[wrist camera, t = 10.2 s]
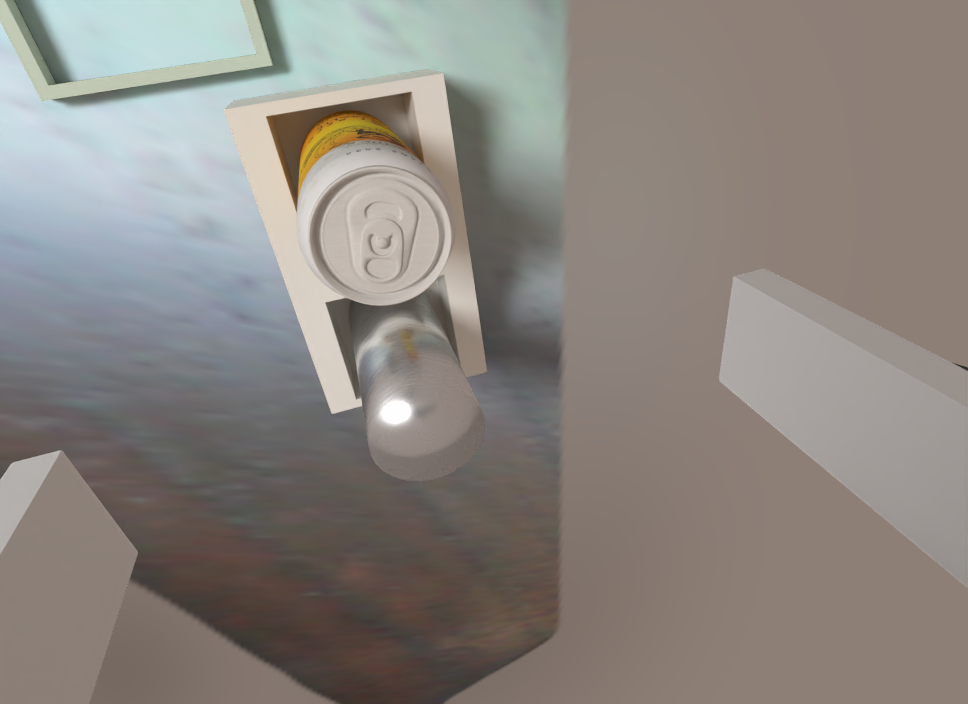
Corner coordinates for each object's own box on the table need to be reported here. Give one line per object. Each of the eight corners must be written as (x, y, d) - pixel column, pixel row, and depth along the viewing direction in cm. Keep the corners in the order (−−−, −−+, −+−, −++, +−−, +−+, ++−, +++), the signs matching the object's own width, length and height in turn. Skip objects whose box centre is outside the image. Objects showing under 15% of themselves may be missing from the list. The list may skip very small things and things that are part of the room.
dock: (233, 100, 29) (223, 109, 26) (427, 69, 31) (443, 73, 28) (329, 378, 40) (331, 413, 36) (471, 342, 41) (487, 372, 38)
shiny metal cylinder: (338, 286, 36) (354, 405, 24) (422, 267, 37) (477, 372, 25) (360, 358, 39) (383, 494, 27) (437, 338, 40) (491, 461, 28)
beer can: (406, 115, 32) (471, 162, 19) (400, 217, 34) (453, 315, 22) (298, 102, 30) (293, 145, 17) (301, 210, 33) (298, 315, 20)
